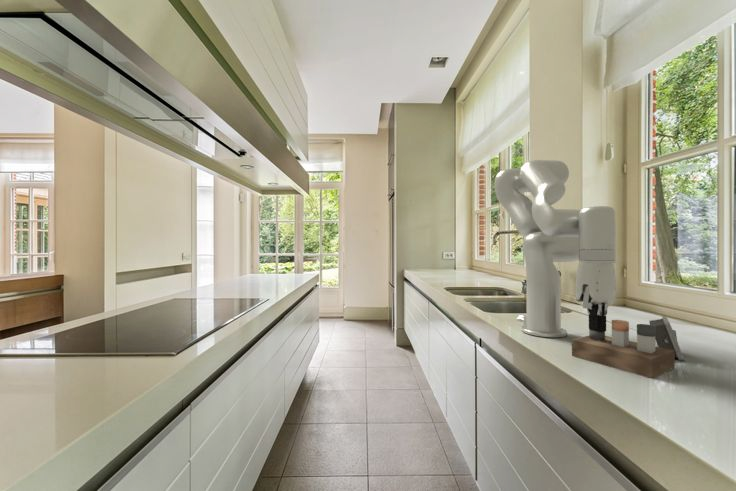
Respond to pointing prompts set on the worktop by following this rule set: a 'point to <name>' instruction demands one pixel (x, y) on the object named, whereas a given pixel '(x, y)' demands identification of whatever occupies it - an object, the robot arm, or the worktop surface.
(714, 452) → the worktop surface
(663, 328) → the electrical switch
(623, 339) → the plug middle
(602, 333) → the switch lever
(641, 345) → the plug right
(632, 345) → the wooden socket board
